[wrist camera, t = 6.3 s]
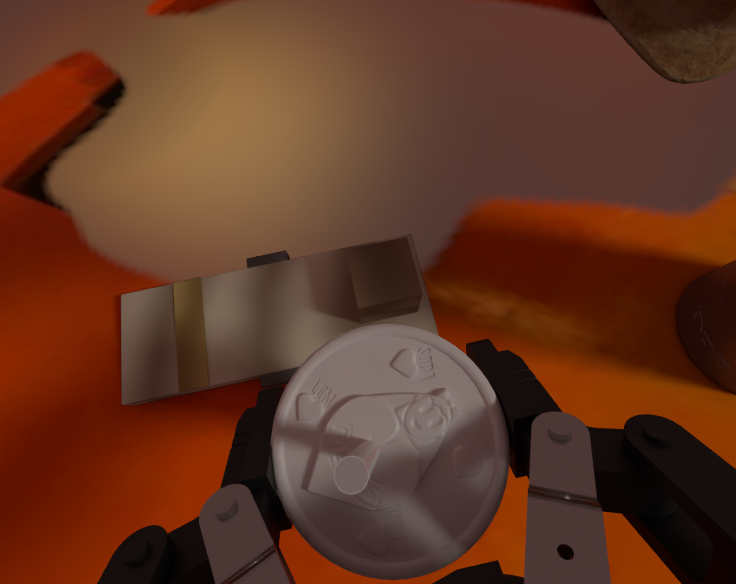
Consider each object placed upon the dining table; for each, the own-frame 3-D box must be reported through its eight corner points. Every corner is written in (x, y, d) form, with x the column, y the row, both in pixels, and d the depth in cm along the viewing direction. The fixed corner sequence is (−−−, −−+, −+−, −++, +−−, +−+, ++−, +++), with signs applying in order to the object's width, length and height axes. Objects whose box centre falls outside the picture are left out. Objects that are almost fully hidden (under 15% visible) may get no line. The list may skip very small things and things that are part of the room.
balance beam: (407, 232, 31) (411, 196, 26) (439, 350, 28) (451, 335, 23) (130, 290, 30) (81, 264, 25) (132, 417, 27) (77, 416, 22)
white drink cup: (305, 404, 20) (128, 380, 7) (412, 341, 21) (442, 204, 7) (368, 529, 18) (291, 835, 5) (483, 455, 19) (695, 547, 6)
